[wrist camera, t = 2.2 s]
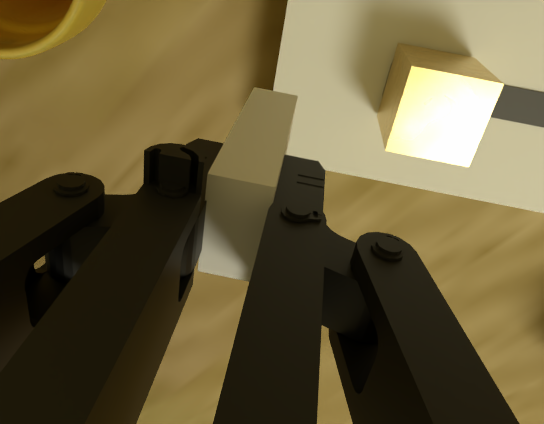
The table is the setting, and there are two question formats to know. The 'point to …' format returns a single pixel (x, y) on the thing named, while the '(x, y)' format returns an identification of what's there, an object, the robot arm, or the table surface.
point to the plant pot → (42, 24)
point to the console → (373, 76)
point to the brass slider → (436, 104)
